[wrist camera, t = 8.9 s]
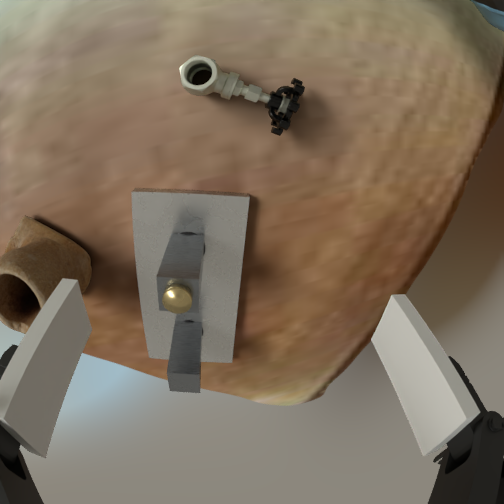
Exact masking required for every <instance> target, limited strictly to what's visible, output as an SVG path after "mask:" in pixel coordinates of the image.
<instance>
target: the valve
mask: <svg viewBox="0 0 504 504" xmlns="http://www.w3.org/2000/svg"><path fill="white" fill-rule="evenodd" d="M179 69H180V75H181V83H182V86H183V87H184V89H185V90H186V91H187V92H189V93H190V94H193V95H196V96H204V95H208V94H210V93H212V92H217V93H220V94H221V97H222V98H225V99H228V100H230V98H231V96H232V95H235V96H239V95H243V96H245V97H244V99H247V100H249V101H252V102H255V103H256V102H257V101H258V100H259V101H262V102H265V103H266V104H265V108H268V109H269V116H270V117H271V119H272V122H271V125H273V126H275V127H277V128H274V127H272V130H271V133H274V134H276V135H279V136H280V135H281V134H282V132H283V129H284V130H287V129H288V128H289V126H290V122H291V121H290V118H291V116H292V114H293V112H294V113H296V112H297V111H298V109H299V106H300V103H298V102H297V101H298V98H299V96H301V95H302V94H303V92H304V89H305V87H304V86H302V81H300V80H298V79H295V78H293V80H292V81H291V84H294V87H293V88H292V87H289V86H283V87H280V88H279V89H278V90H277V91H276V92H274V91H272V92H271V93H270V95H269V94H266V93H264V92H261V91H262V88H260V87H257V86H255V85H252V84H250V85H249V86H246V85H244V82H243V81H240V80H238V78H239V76H240V74H237V73H234V72H230V74H227V73H224V72H222V71H221V69H220V67H219V66H218V65H217V63H215V60H213V59H209V58H206V57H202V56H198V55H195V56H193V57H192V58H190V59H189V60H188V61H187V62H185V63H184V64H183V65H182V66H181V67H180V68H179ZM200 70H208V71H210V72H211V73H212V76H211V78H210V80H209V81H208V82H207V83H205V84H203V85H193V83H192V78H193V76H194V74H195V73H196V72H198V71H200ZM236 74H237V75H236ZM283 92H284V94H286V96H284V95H281V94H282V93H283ZM275 112H278V115H276V114H275Z"/></svg>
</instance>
